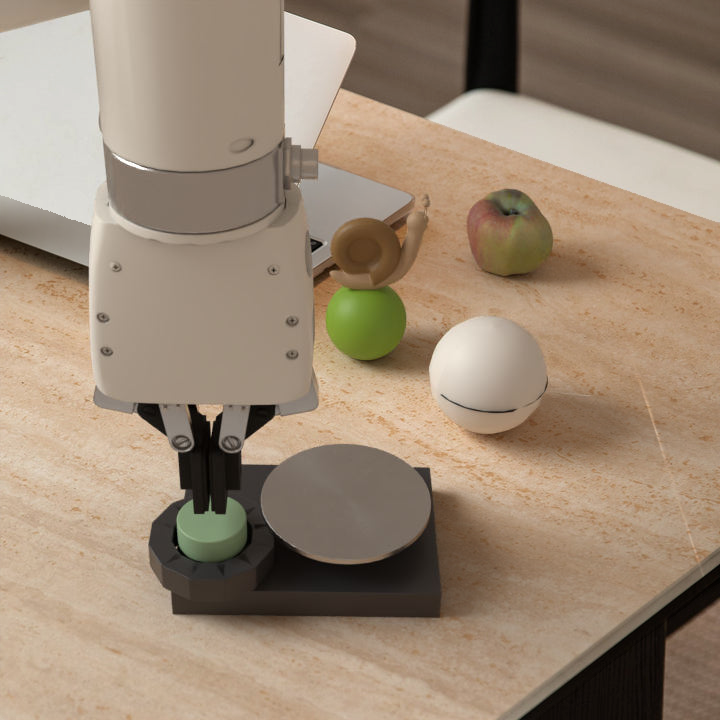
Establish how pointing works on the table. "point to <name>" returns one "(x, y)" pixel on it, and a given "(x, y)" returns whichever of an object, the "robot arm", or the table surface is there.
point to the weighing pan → (345, 504)
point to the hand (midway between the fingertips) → (212, 495)
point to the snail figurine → (371, 284)
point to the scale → (293, 570)
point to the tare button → (212, 532)
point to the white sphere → (488, 374)
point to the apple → (508, 233)
